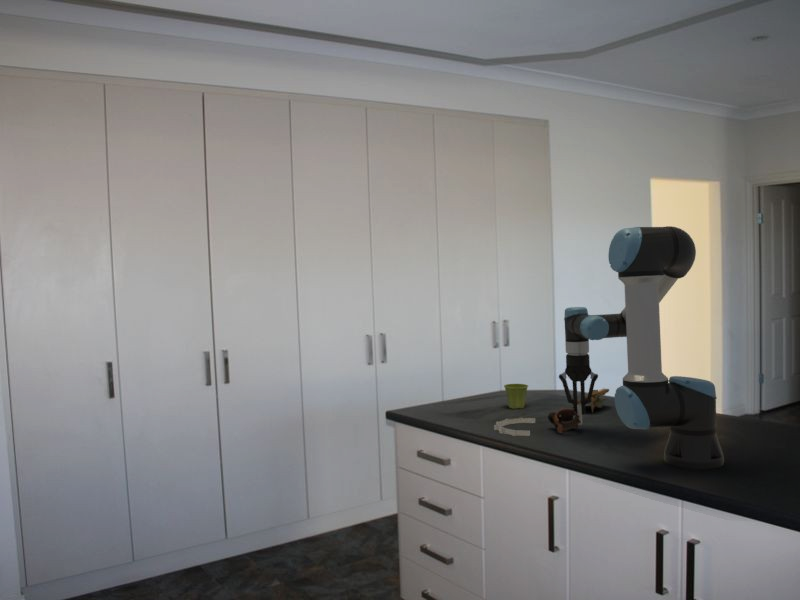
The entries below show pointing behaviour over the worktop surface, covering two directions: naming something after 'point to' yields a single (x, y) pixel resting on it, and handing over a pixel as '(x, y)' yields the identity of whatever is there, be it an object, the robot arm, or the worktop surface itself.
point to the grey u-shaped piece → (513, 421)
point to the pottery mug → (564, 419)
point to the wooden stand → (595, 398)
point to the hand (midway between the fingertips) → (580, 423)
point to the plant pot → (516, 395)
